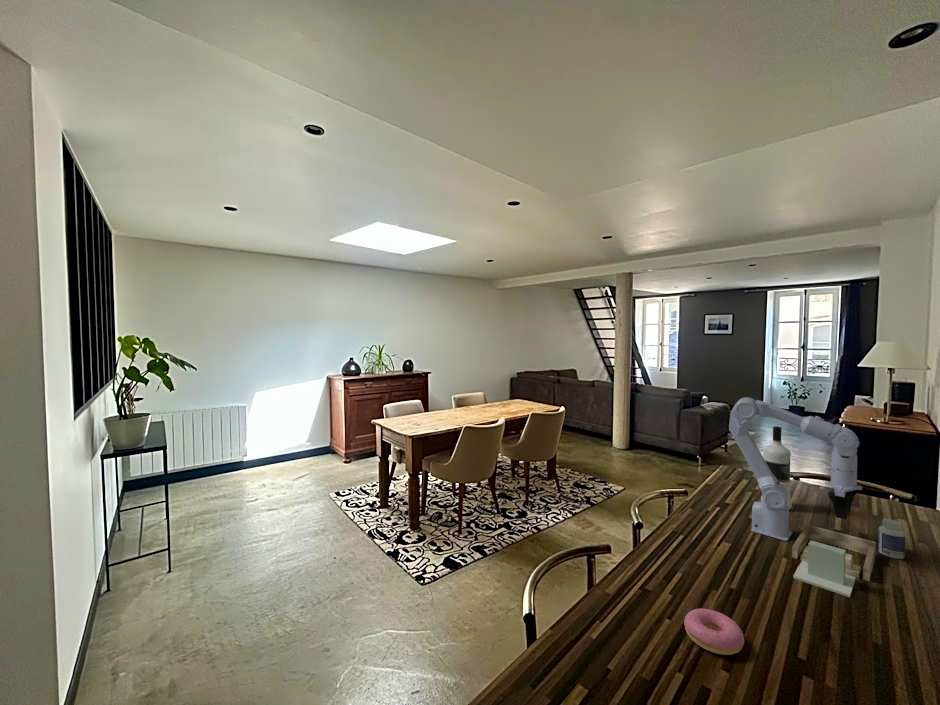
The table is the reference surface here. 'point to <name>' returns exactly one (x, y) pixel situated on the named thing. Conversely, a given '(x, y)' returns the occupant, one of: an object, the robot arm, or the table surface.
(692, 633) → the doughnut
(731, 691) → the table surface
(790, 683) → the table surface
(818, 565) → the green panel
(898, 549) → the pill bottle
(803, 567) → the grey pad
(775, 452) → the vodka
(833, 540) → the rack
